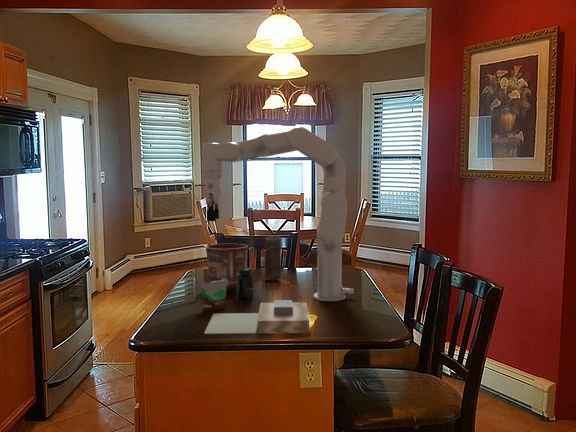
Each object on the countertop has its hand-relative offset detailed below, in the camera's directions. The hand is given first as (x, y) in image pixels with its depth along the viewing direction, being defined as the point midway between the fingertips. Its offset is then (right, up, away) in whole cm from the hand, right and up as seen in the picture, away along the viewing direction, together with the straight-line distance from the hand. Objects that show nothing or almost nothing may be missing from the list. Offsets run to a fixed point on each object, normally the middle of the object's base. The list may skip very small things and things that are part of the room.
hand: (213, 219), depth 205 cm
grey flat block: (+27, -30, -30) cm, 51 cm away
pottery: (+3, -29, +24) cm, 38 cm away
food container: (+3, -32, -9) cm, 34 cm away
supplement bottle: (+12, -31, +3) cm, 34 cm away
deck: (+27, -34, -30) cm, 53 cm away
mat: (+11, -34, -30) cm, 47 cm away
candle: (+22, -28, +36) cm, 51 cm away
